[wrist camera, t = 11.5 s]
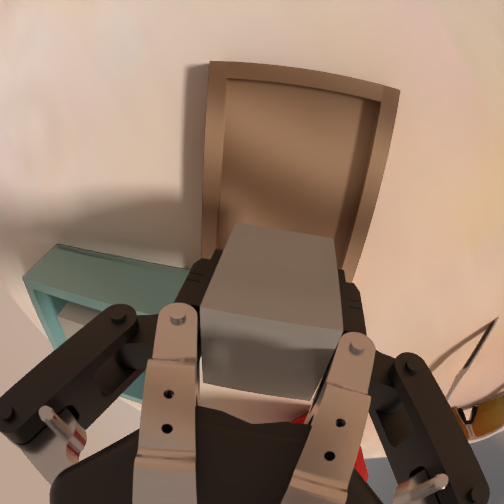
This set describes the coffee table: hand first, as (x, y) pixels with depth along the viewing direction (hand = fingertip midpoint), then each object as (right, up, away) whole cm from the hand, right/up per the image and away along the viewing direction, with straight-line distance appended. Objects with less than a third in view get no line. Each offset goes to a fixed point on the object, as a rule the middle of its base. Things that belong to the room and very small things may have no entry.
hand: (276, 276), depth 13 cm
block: (0, 0, 0) cm, 1 cm away
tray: (+1, +4, +3) cm, 5 cm away
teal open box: (-11, -4, +10) cm, 15 cm away
